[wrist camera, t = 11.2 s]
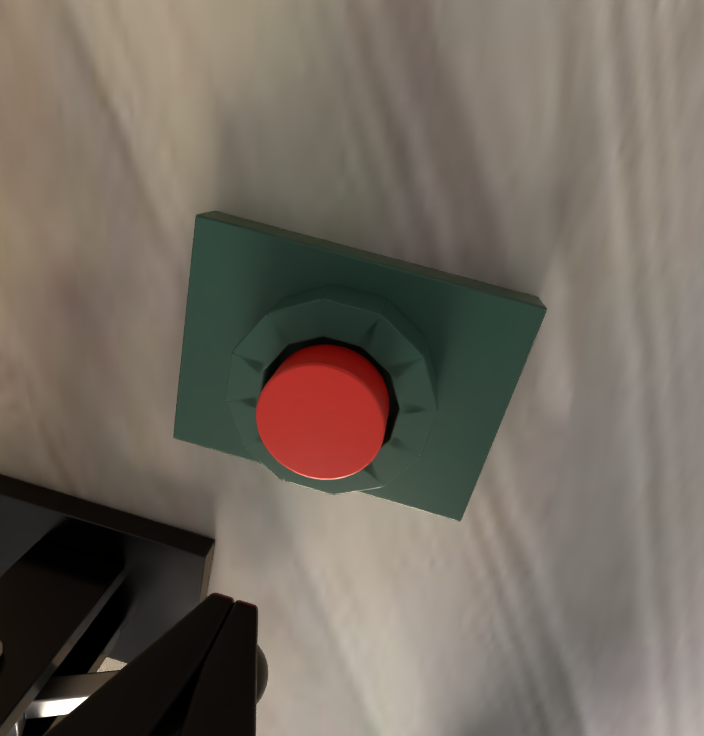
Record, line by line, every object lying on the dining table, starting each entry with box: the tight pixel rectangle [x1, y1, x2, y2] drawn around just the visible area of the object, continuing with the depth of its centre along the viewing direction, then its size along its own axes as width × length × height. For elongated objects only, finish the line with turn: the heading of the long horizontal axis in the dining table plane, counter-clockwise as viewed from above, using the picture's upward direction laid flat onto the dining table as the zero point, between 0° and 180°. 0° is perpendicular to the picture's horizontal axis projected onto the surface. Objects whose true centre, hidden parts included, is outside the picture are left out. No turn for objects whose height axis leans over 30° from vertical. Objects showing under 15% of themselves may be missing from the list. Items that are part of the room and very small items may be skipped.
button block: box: [173, 211, 547, 521], centre depth 18 cm, size 12×9×4 cm
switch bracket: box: [0, 475, 215, 736], centre depth 22 cm, size 12×9×9 cm
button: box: [256, 344, 390, 480], centre depth 16 cm, size 4×4×2 cm
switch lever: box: [7, 645, 268, 736], centre depth 21 cm, size 12×3×3 cm, turn 76°
